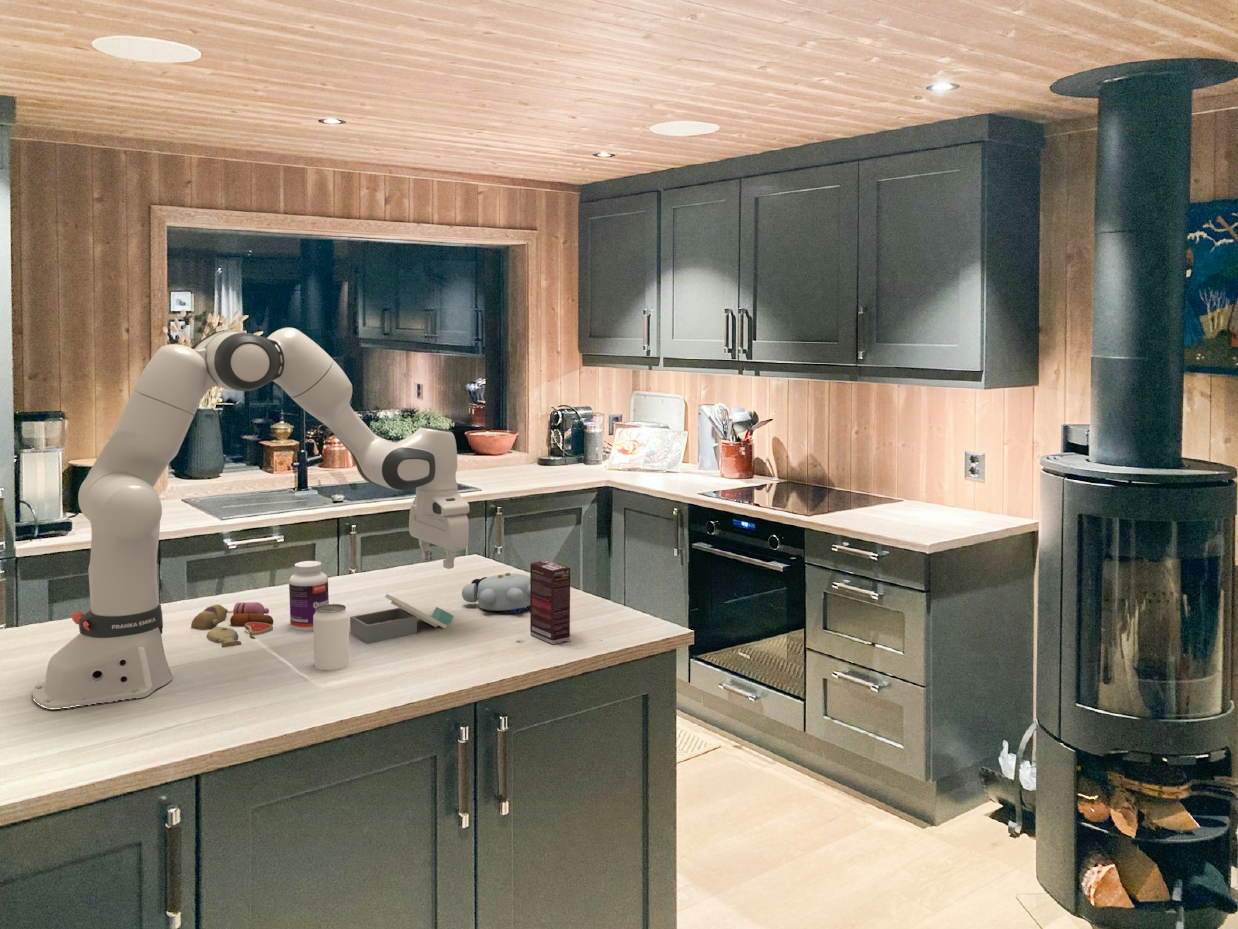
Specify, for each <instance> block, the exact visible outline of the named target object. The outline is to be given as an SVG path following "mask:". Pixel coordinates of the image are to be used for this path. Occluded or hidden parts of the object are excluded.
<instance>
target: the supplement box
mask: <svg viewBox="0 0 1238 929" xmlns="http://www.w3.org/2000/svg"><path fill="white" fill-rule="evenodd" d="M529 566H530V571H529V572H530V573H529V575H530V576H529V577H530V610H529V611H530V616H529V617H530V624H529V625H530V626H529V628H530V632H529V633H530V636H533V637H535V638H537V639H540V640H542V641H544V642H547V643H549V644H552V645H556V644H555V643H557V644H560V642H562V643H564V641H566V642H568V640H569V641H570V640H571V567H569V566H566V565H563V564H559V563H557V562H554V561H551V560H548V559H547V560H541V561H540V560H539V561H532V562H530V565H529Z"/></svg>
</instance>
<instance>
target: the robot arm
mask: <svg viewBox="0 0 1238 929" xmlns="http://www.w3.org/2000/svg"><path fill="white" fill-rule="evenodd" d="M271 382H274V383H275V384H276V385H278V386H280V387H281V388H282V390H283V391H284V393H286V394H287V395H288V396H289V397H290V399H292V400H293V401H294V402H295V403H296V404H297V405H298V406H299V407H300V408H302V409H303V410H304V411H306V412H307V413H308V414H309V415H311V416H312V417H314V418H315V419H316V420H318V421H319V422H320V423H322V424H323V425H324V426H326V428H327V429H328V430H330V432H331V433H332V434H333V435H334V436H335V437H336V439H338V441H339V442H340V443H342V445H343V446H344V447H345V448H346V450H348V451H349V453H350V455H351V456H352V458H353V460H354V463H355V467H356V469H357V471H358V473H359V475H360V476H361V478H363V479H364V480H365V481H366V482H368V483H370V484H372V485H375V486H382V487H384V488H386V489H387V488H388V489H391V490H394V491H401V492H402V491H408V490H412V489H415V498H414V499H413V500H412V505H411V506H410V509H409V518H408V532H409V535H410V536H411V537H412V538H415V539H418V545H419V547H420V550H421V559H422V560H425V561H431V560H433V551H431V547H430V546H431V544H432V545H434V546H437V547H439V548H443V549H444V553H445V558H444V559H443V560H442V562H443V564H442V566H443V568H444V569H447V570H450V569H453V568H454V567H455V559H456V557H457V554H458V551H464V550H466V549H467V547H468V546H469V540H470V539H469V536H470V535H469V534H470V532H469V530H470V528H469V518H468V516H467V514H469V513H470V504H469V503H468V502H467V500H466V499H464V498H463V496H462V495H461V494H460V492H458V491H459V489H458V488H459V486H458V482H457V476H456V474H457V471H458V450H457V449H458V448H457V441H456V438H455V435H454V433H453V432H452V431H451V430H449V429H447V428H443V427H437V426H431V425H422V426H419V427H418V429H416V430H415V431H414V432H413V433H412V434H411V435H409V436H407V437H405V438H403V439H402V440H400V441H397V442H395V441H392V440H390V439H386V438H384V437H381V436H379V435H377V434H376V433H374V431H373V430H371V428H370V427H368V425H367V424H366V423H365V422H364V421H363V420H362V419H361V418H360V416H359V415H358V414H357V413H356V412H355V411H354V409H353V407H352V406H351V404H350V402H351V399H352V396H353V384H352V383H351V381H350V379H349V378H348V376H347V374H346V373H345V371H344V370H343V368H341V367H340V365H339V364H338V363H337V362H336V361H335V360H334V358H332V357H331V355H329V353H327V352H326V351H325V349H324V348H322V347H320V345H319V344H318V343H316V342H315V341H314V340H313V339H311V338H310V337H309V336H307V334H305V333H303V332H302V331H301V330H298V329H297V328H294V327H283V328H280V329H277V330H276V331H274V332H272V333H271V334H270V335H268V336H267V337H265V336H264V337H263V336H261V335H257V334H255V333H250V332H244V331H241V330H233V329H232V330H225V331H224V330H221V331H215V332H213V333H210V334H208V335H207V336H205V337H203V338H202V339H201V340H200V341H198V342H196V343H195V344H194V345H192V346H191V347H189V346H187V345H184V344H180V343H179V344H177V343H169V344H166V345H163V346H161V347H159V349H158V350H156V352H155V353H154V354H153V355H152V357H151V359H150V360H149V361H148V363H147V364H146V366H145V367H144V369H143V371H142V372H141V374H140V376H139V378H138V379H137V382H136V383H135V386H134V388H133V389H132V392H131V393H130V396H129V398H128V399H127V402H126V405H125V407H124V409H123V411H122V413H121V416H120V418H119V420H118V421H117V424H116V427H115V429H114V431H113V432H112V434H111V435H110V438H109V439H108V440H107V443H106V444H105V446H103V448H102V450H101V451H100V454H99V455H98V457H96V460H95V462H93V465H92V466H91V468H90V470H89V471H88V474H87V476H86V477H85V479H84V480H83V482H81V485H80V487H79V490H78V493H77V494H78V495H77V496H78V498H77V500H78V506H79V510H80V512H81V513H82V514H83V515H84V517H85V518H86V519H87V520H88V521H89V523H90V528H91V537H90V538H91V543H90V556H89V557H90V558H89V565H88V568H87V569H88V570H87V571H88V583H89V586H88V587H89V601H90V610H89V611H86V613H85V614H84V612H82V611H75V612H74V613H73V614H72V615H71V616H72V617H71V619H72V621H73V622H74V623H75V624H76V625H78V630H79V634H78V635H76V636H75V637H74V638H72V639H71V640H70V641H69V642H68V643H66V644H65V645H64V646H63V647H62V648H60V649H59V650H58V651H57V652H55V653H54V654H52V656H51V657H50V658H49V661H48V664H47V667H46V674H45V681H42V682H39V683H37V684H36V685H35V686H33V688H32V694H31V696H32V695H33V698H34V699H35V701H36V702H37V703H39V704H40V705H43V706H45V707H47V708H63V707H70V706H76V705H88V706H90V705H89V704H94V703H95V705H97V704H96V703H101V702H108V703H114V702H113V701H115V702H119V701H118V700H122V701H125V700H124V699H129V700H131V699H130V698H136V699H140V698H141V699H142V698H146V697H148V696H150V695H151V694H152V693H153V692H154V691H156V690H157V689H159V688H161V687H163V686H166V684H168V683H170V681H172V679H173V675H172V672H171V669H170V666H169V664H168V660H167V658H166V654H165V649H164V648H165V647H164V644H163V636H162V634H163V628H164V619H163V618H164V617H163V609H162V604H160V603H159V588H158V572H157V566H158V565H157V564H158V562H157V561H158V549H159V544H160V543H159V541H160V531H161V530H160V528H161V519H162V517H163V516H162V514H163V508H162V502H161V499H160V496H159V494H158V492H157V490H156V489H155V488H154V487H155V485H156V484H157V482H158V481H159V478H160V477H161V476H162V475H163V473H164V472H165V470H166V468H167V467H168V466H169V464H170V462H172V461H173V460H174V459H175V457H177V455H178V453H179V451H180V448H181V446H182V444H183V442H184V440H185V438H186V435H187V434H188V432H189V431H188V430H189V429H190V426H191V424H192V421H193V420H194V417H195V415H196V413H197V410H198V408H199V405H200V403H201V400H202V399H203V398H204V396H205V395H206V393H207V392H208V391H209V390H211V389H212V388H214V387H220V388H223V389H225V390H229V391H235V392H236V391H237V392H238V391H240V392H251V391H254V390H257V389H260V388H262V387H263V386H265V385H267V384H268V383H269V384H270V383H271ZM33 698H32V699H33Z"/></svg>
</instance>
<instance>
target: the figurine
mask: <svg viewBox="0 0 1238 929" xmlns="http://www.w3.org/2000/svg"><path fill="white" fill-rule="evenodd" d="M461 596H462V599H463V601H465V602H467V603H477V602H478V606H479V608H480V609H481V610H485V611H492V612H493V611H496V612H497V611H509V613H511V614H512V615H513V614H514V615H518V614H519V613H520V612H523V611H530V576H529V575H526V574H522V573H521V574H520V573H510V572H506V573H503V574H496V575H492V576H487V577H486V576H484V577H481V578H475V579H473V580H472V581H471V583H468V584H466V585H465V586H464V587H463V588H462V589H461Z"/></svg>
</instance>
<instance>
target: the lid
mask: <svg viewBox="0 0 1238 929" xmlns="http://www.w3.org/2000/svg"><path fill="white" fill-rule="evenodd" d="M384 598H386V599H387V600H390V601H391V603H390V604H391V605H393V606H395V607H397V608H400V609H402V610H404V611H406V612H408V613H410V614H412V615H414V616H416V617H417V619H419V620H421V621H423V622H425V623H426V624H429V625H430V626H432V627H435V628H438V627H441V628H443V629H446V628H447V627H448V625H447V624H450V623H451V622H452V620H453V618H454V615H453V614H451V613H449V612H447V611H446V610H444V609H443V608H441V607H438V606H435V609H434V610H433V612H432V614H431V615H429V614H426V613H425V612H423V611H422V610H419V609H417V608H416V607H414V606H412V605H410V604H408V603H407V602H405V601H402V600H401V599H398V598H397V597H394V596H393V595H390V594H388V593H385V596H384Z"/></svg>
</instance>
